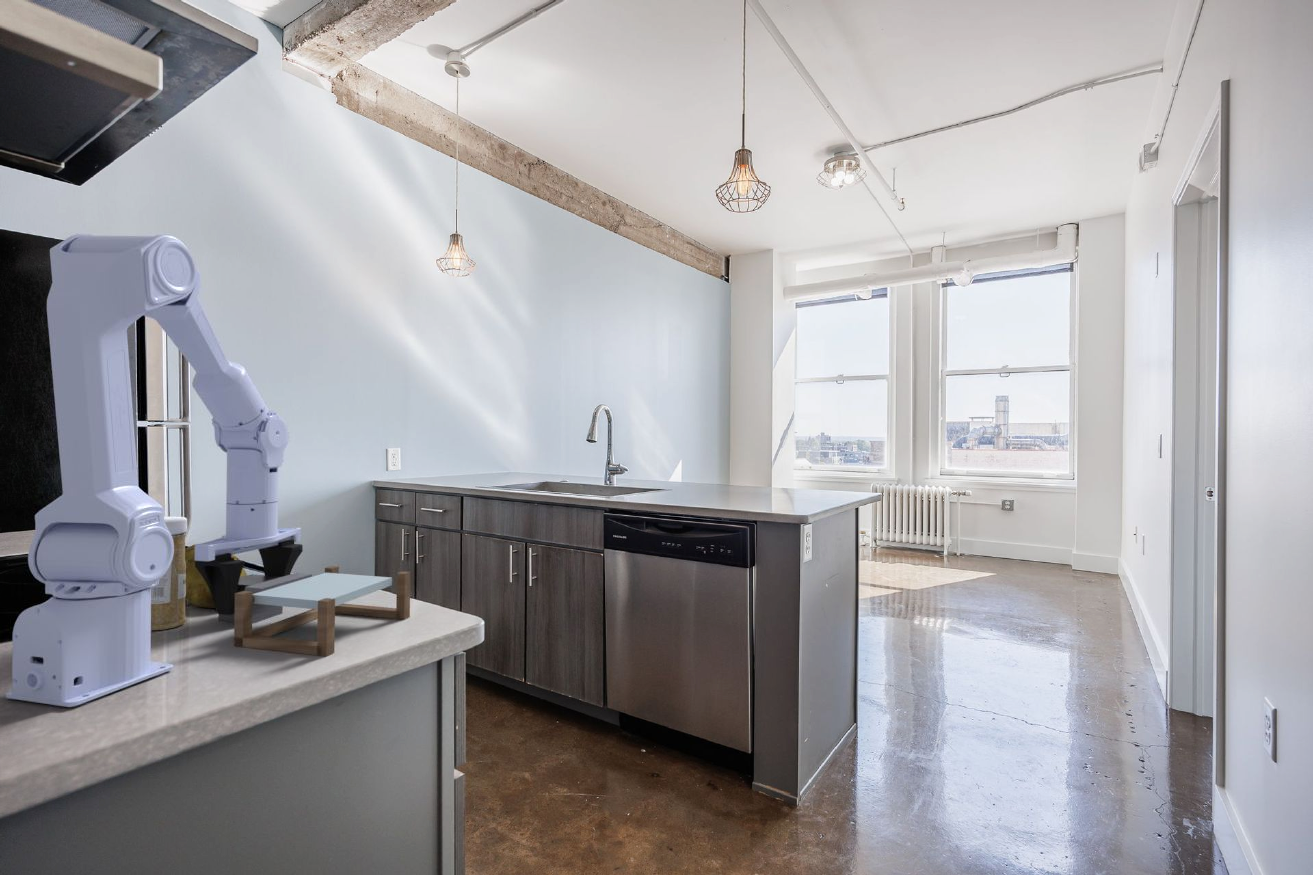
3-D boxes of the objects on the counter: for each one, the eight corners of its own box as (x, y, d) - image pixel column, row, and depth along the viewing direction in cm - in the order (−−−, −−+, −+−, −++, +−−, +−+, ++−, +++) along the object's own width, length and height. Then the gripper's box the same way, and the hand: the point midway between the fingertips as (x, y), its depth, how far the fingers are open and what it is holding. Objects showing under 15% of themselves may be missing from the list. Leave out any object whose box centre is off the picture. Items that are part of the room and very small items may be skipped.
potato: (176, 618, 81) (176, 557, 81) (170, 597, 91) (171, 542, 91) (251, 608, 87) (252, 550, 87) (238, 589, 97) (239, 537, 96)
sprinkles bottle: (195, 622, 80) (196, 516, 80) (159, 633, 76) (160, 521, 75) (166, 619, 81) (167, 514, 81) (129, 629, 77) (130, 519, 76)
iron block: (250, 624, 80) (251, 585, 80) (218, 621, 81) (218, 582, 81) (282, 613, 85) (283, 576, 85) (251, 610, 86) (251, 574, 86)
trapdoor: (325, 611, 71) (325, 599, 71) (230, 602, 74) (230, 591, 74) (392, 586, 83) (392, 576, 83) (307, 579, 85) (308, 569, 85)
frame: (326, 656, 69) (327, 601, 69) (234, 645, 72) (234, 593, 72) (409, 616, 84) (410, 572, 84) (330, 609, 87) (331, 566, 86)
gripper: (271, 495, 90) (270, 589, 91) (174, 507, 76) (173, 618, 76) (314, 497, 89) (312, 593, 89) (222, 509, 75) (221, 623, 75)
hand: (251, 605), depth 83 cm, fingers open, 7 cm apart
